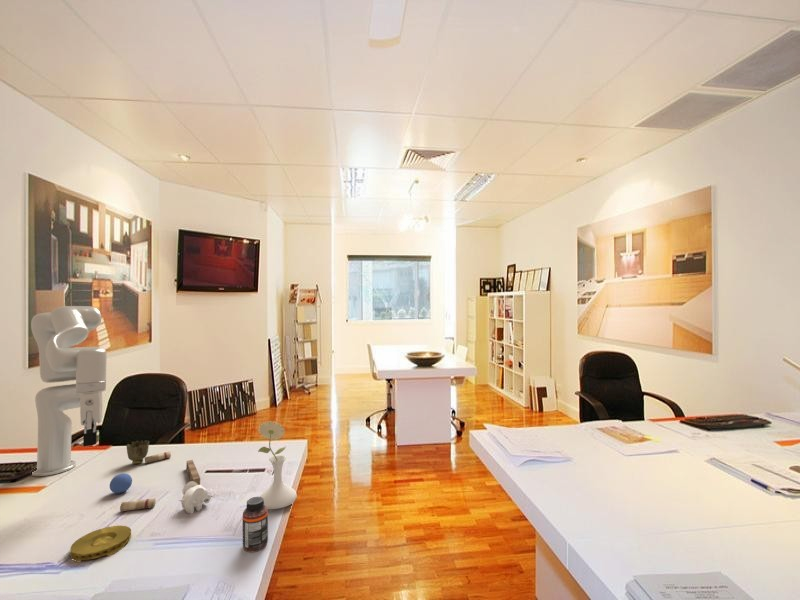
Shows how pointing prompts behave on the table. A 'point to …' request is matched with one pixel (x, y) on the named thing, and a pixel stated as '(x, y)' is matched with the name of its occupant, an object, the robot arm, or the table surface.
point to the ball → (120, 483)
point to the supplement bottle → (255, 525)
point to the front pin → (137, 504)
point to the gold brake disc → (100, 543)
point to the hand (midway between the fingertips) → (90, 444)
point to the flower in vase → (276, 470)
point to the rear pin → (157, 457)
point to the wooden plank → (192, 472)
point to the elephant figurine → (194, 496)
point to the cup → (137, 451)
